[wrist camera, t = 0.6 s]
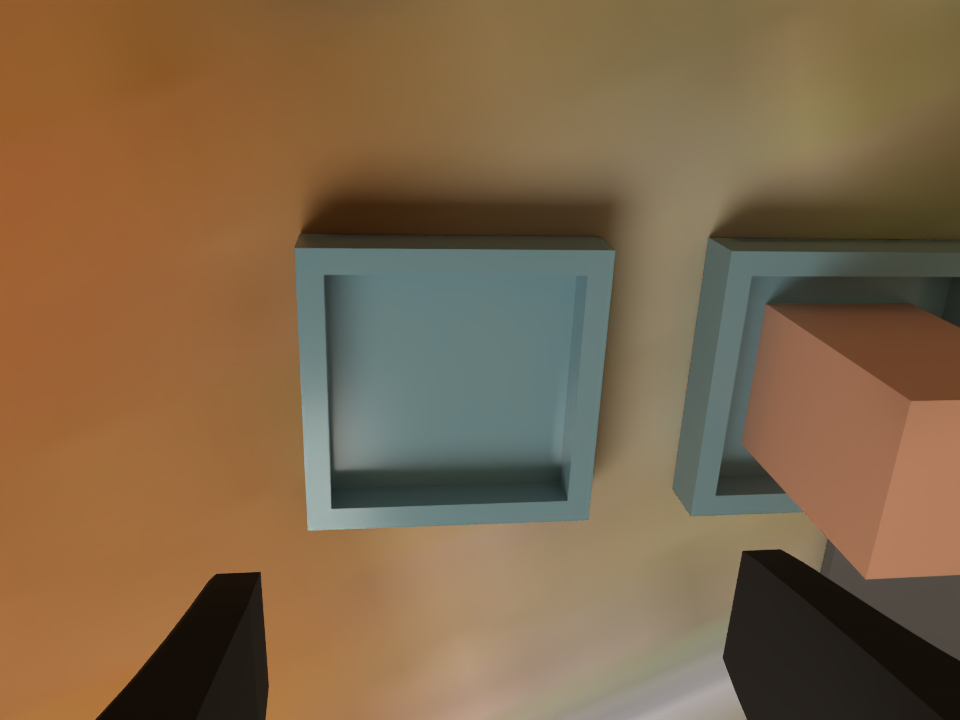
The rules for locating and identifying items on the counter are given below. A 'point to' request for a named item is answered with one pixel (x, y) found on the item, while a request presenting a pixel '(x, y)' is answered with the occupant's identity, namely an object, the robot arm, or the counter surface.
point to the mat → (905, 600)
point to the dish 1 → (450, 377)
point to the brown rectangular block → (864, 429)
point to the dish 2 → (736, 333)
